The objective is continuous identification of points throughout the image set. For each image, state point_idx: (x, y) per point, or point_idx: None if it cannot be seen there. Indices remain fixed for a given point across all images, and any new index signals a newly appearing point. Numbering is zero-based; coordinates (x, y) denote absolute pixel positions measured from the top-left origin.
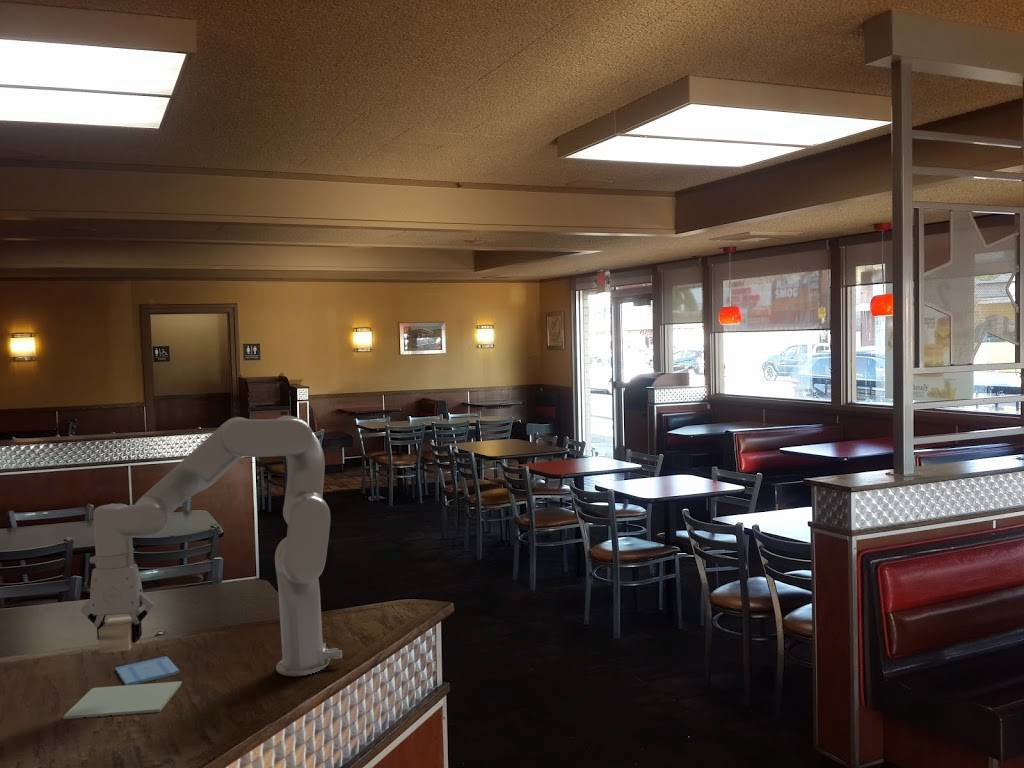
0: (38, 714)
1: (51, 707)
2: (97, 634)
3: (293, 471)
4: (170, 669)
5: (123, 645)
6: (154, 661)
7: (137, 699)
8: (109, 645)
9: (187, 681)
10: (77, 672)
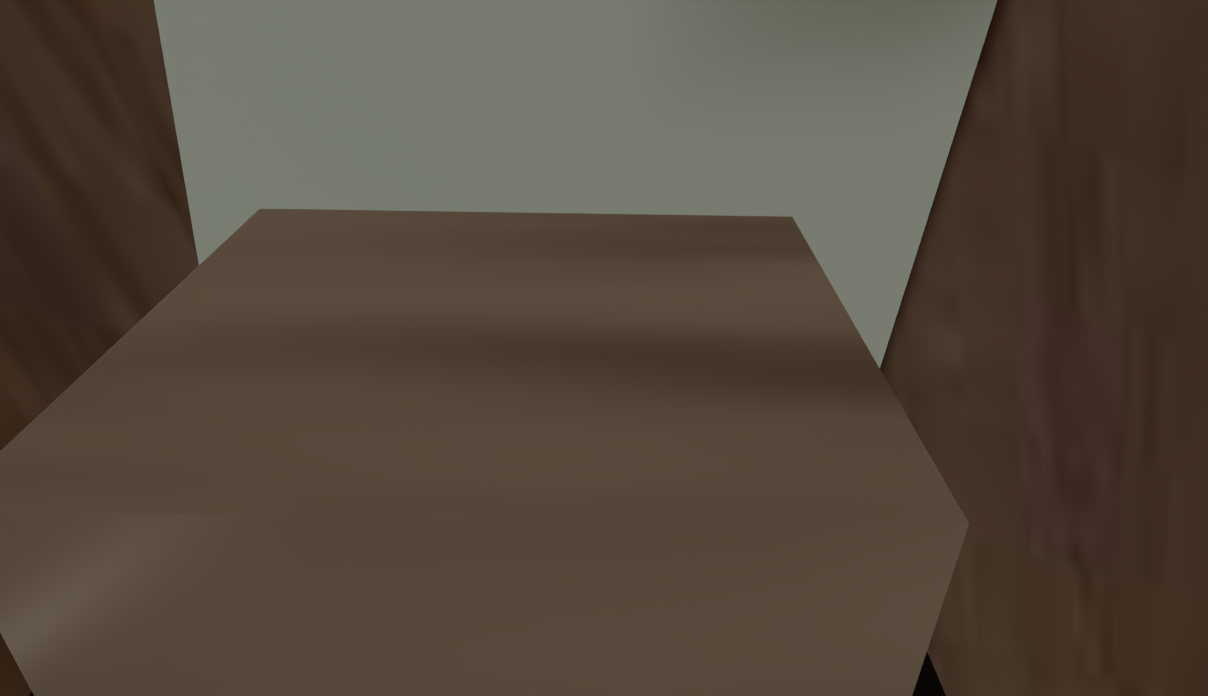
0: (1201, 122)
1: (1103, 241)
2: (933, 676)
3: None
4: None
5: (329, 253)
6: None
7: (443, 155)
8: (612, 264)
9: None
10: None
